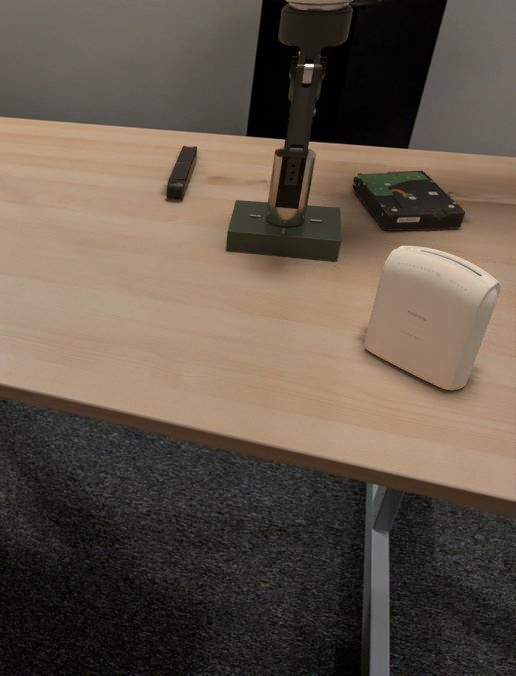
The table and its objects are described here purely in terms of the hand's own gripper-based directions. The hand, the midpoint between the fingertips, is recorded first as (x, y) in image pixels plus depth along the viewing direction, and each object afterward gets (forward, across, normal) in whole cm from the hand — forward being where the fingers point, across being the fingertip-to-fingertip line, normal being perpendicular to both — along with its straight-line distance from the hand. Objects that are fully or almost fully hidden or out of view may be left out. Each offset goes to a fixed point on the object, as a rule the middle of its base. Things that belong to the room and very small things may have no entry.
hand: (289, 185), depth 84 cm
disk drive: (+8, -13, +16) cm, 22 cm away
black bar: (+8, -18, -17) cm, 26 cm away
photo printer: (+8, +25, +14) cm, 30 cm away
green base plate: (+8, 0, 0) cm, 8 cm away
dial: (+5, 0, 0) cm, 5 cm away
